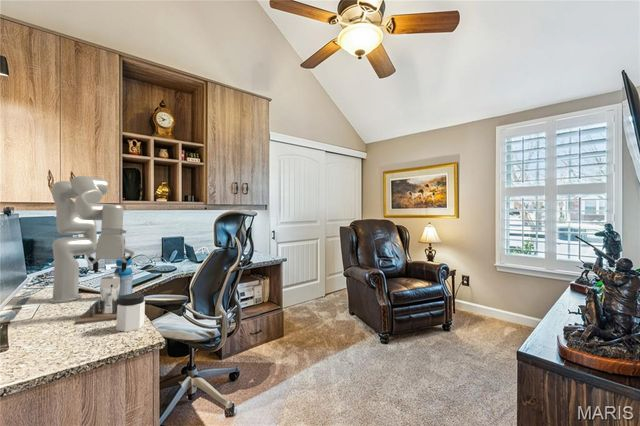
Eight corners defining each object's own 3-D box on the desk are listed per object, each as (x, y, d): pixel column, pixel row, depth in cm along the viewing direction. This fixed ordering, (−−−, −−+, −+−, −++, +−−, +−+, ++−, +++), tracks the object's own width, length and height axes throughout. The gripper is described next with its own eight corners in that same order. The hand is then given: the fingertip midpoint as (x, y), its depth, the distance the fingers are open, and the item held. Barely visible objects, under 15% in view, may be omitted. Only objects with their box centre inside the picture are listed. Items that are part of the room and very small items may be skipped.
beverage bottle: (125, 299, 146) (126, 260, 146) (108, 299, 146) (110, 260, 146) (135, 295, 154) (137, 258, 155) (120, 295, 154) (121, 258, 155)
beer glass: (122, 310, 125) (124, 276, 126) (106, 315, 119) (107, 279, 119) (111, 308, 128) (113, 275, 128) (95, 313, 121) (96, 278, 121)
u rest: (90, 309, 129) (91, 298, 129) (137, 305, 137) (137, 294, 137) (75, 324, 111) (75, 311, 111) (129, 318, 119) (130, 306, 119)
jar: (111, 329, 106) (112, 297, 106) (131, 322, 114) (132, 292, 114) (129, 333, 103) (130, 299, 104) (148, 325, 111) (149, 294, 111)
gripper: (136, 232, 131) (134, 269, 131) (89, 231, 124) (87, 271, 123) (133, 233, 124) (131, 272, 124) (84, 233, 117) (82, 274, 117)
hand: (109, 271), depth 124 cm, fingers open, 9 cm apart
